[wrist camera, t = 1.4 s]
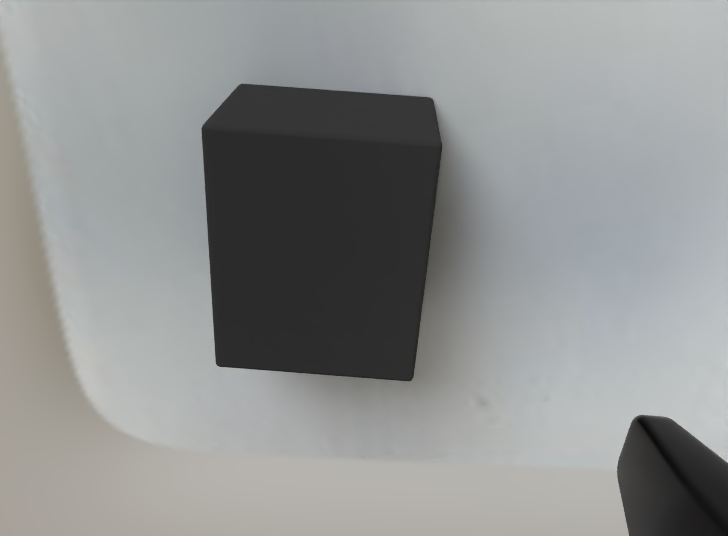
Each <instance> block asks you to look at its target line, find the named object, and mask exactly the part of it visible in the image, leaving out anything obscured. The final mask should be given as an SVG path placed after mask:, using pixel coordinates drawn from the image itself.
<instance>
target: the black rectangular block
mask: <svg viewBox="0 0 728 536" xmlns="http://www.w3.org/2000/svg"><path fill="white" fill-rule="evenodd" d="M202 143H203V159H204V176H205V192H206V209H207V225H208V241H209V258H210V274H211V291H212V307H213V324H214V340H215V357H216V364H217V366H219V367H232V368H245V369H257V370H270V371H283V372H296V373H309V374H322V375H335V376H348V377H361V378H374V379H387V380H400V381H411V380H412V379H413V376H414V368H415V360H416V352H417V344H418V336H419V328H420V320H421V312H422V304H423V296H424V288H425V280H426V272H427V264H428V256H429V248H430V240H431V232H432V224H433V216H434V208H435V200H436V192H437V184H438V176H439V168H440V160H441V152H442V143H441V138H440V133H439V128H438V122H437V117H436V112H435V107H434V102H433V99H432V98H429V97H415V96H401V95H388V94H374V93H360V92H347V91H333V90H320V89H306V88H292V87H279V86H265V85H251V84H240V85H239V86H238V87H237V88H236V89H235V90H234V91H233V92H232V93H231V95H230V96H229V97H228V98H227V99H226V100H225V101H224V102H223V103H222V105H221V106H220V107H219V108H218V109H217V110H216V111H215V112H214V113H213V115H212V116H211V117H210V118H209V119H208V120H207V121H206V122H205V124H204V125H203V127H202Z"/></svg>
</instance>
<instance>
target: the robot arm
mask: <svg viewBox="0 0 728 536" xmlns="http://www.w3.org/2000/svg"><path fill="white" fill-rule="evenodd" d="M617 474H618V482H619V487H620V492H621V497H622V502H623V507H624V512H625V517H626V522H627V527H628V531H629V536H728V463H727V462H726V461H724V460H723V459H722V458H721V457H719V456H718V455H717V454H715V453H714V452H713V451H712V450H710V449H709V448H708V447H707V446H705V445H704V444H703V443H701V442H700V441H699V440H698V439H696V438H695V437H694V436H692V435H691V434H690V433H689V432H687V431H686V430H685V429H684V428H682V427H681V426H680V425H678V424H677V423H676V422H675V421H673V420H672V419H670V418H667V417H661V416H648V415H639V416H637V417H635V418H634V419H633V421H632V423H631V425H630V428H629V431H628V434H627V437H626V440H625V443H624V446H623V448H622V451H621V454H620V457H619V461H618V466H617Z"/></svg>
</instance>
